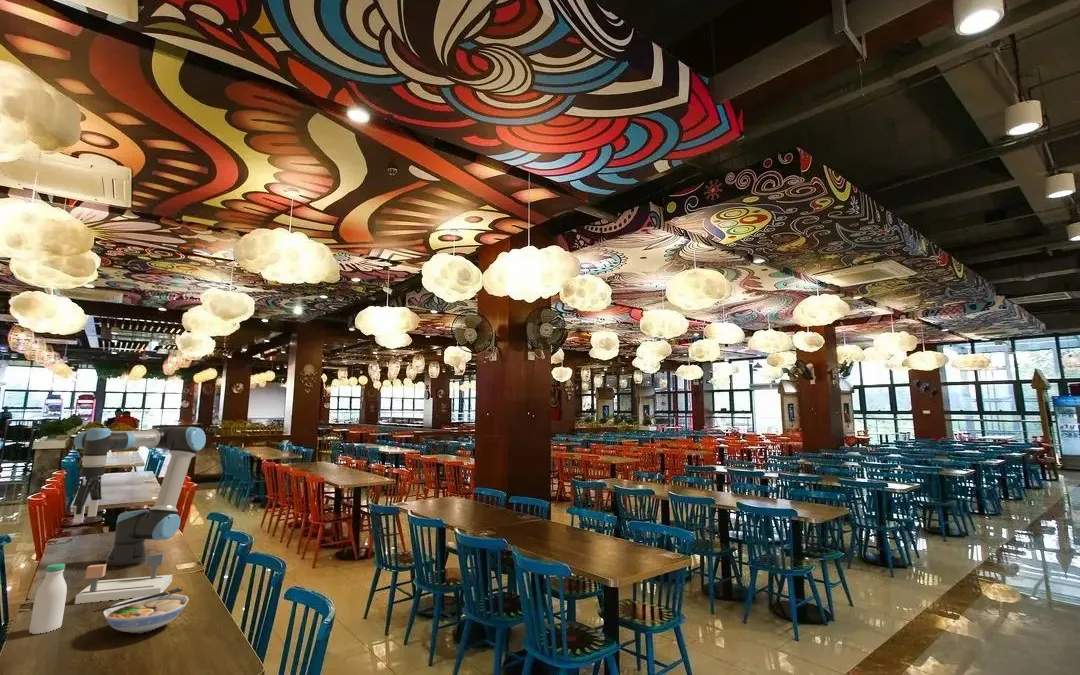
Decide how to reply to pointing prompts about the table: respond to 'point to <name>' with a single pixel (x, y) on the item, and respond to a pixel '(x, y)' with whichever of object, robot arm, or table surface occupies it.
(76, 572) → the table surface
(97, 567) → the fader
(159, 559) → the fader
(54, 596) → the milk bottle
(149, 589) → the fader panel
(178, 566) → the table surface
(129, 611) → the ramen bowl
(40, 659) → the table surface
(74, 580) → the table surface
